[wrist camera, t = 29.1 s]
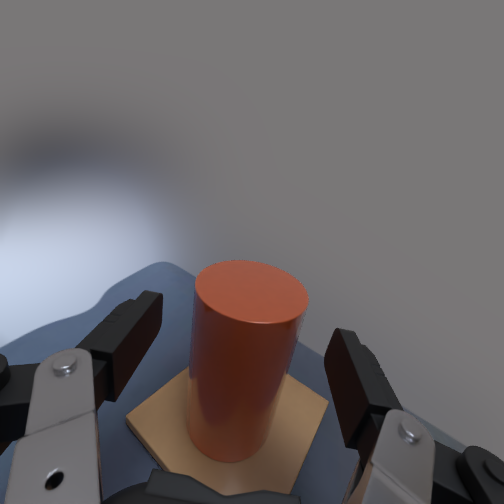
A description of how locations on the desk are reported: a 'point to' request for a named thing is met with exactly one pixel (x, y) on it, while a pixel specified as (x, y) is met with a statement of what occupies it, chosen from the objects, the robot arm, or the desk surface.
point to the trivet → (230, 473)
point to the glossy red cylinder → (240, 354)
